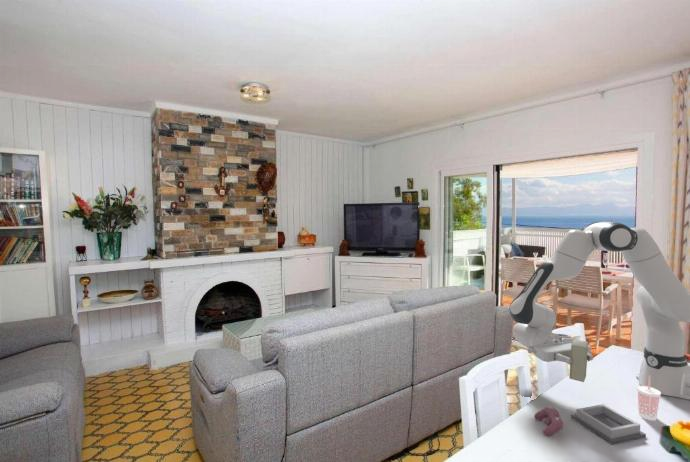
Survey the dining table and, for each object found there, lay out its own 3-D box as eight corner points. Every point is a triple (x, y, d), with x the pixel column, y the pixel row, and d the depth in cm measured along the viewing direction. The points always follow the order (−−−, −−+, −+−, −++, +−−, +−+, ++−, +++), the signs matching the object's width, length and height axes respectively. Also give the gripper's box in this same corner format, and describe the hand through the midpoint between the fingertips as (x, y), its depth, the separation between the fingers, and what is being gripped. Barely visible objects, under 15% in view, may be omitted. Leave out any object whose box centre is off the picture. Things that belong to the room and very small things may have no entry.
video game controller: (557, 442, 110) (569, 423, 110) (542, 434, 111) (554, 415, 110) (545, 423, 120) (556, 406, 119) (532, 416, 121) (543, 398, 120)
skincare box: (571, 372, 129) (573, 338, 128) (586, 376, 126) (588, 341, 125) (569, 379, 124) (570, 344, 123) (584, 383, 121) (586, 347, 121)
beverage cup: (658, 414, 122) (660, 374, 121) (661, 424, 117) (663, 381, 116) (634, 409, 125) (636, 369, 124) (636, 418, 120) (638, 376, 119)
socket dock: (602, 412, 124) (602, 402, 124) (645, 437, 110) (646, 426, 110) (571, 418, 120) (571, 407, 120) (612, 444, 107) (612, 433, 107)
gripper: (525, 339, 134) (556, 354, 121) (570, 334, 140) (604, 347, 126) (525, 356, 135) (555, 372, 121) (570, 350, 140) (604, 365, 127)
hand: (581, 359), depth 124 cm, fingers closed on skincare box, 7 cm apart
